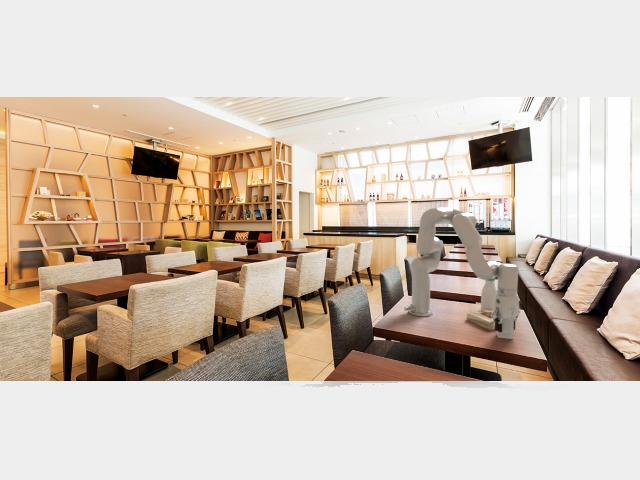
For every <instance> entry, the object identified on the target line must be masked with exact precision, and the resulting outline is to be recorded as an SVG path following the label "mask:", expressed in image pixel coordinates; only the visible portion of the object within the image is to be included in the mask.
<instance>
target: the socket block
mask: <svg viewBox="0 0 640 480" xmlns="http://www.w3.org/2000/svg"><path fill="white" fill-rule="evenodd" d="M493 312H494V310H493V309H486V310H481V309H480V310H475V311H474V310H473V311H469V312H468V311H467V312H466V320H467V321H468V322H471V323H473V324H475V325H477V326H479V327H482V328H484V329H486V330H489V331H491V330H495V322H494V320H493V318H492V317H491V314H492V313H493Z"/></svg>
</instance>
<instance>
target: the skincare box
mask: <svg viewBox="0 0 640 480" xmlns="http://www.w3.org/2000/svg"><path fill="white" fill-rule="evenodd" d="M498 316H500V315H499V313H498ZM498 319H500V318H499V317H498ZM501 324H502V332H498V331H496V336H497V338H500V339H509V340H513V339H514V331H515V330H514V313H512V317H511V318H507V319H503V320H502V322H501Z"/></svg>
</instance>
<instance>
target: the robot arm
mask: <svg viewBox="0 0 640 480" xmlns="http://www.w3.org/2000/svg"><path fill="white" fill-rule="evenodd" d="M477 223H478V221H477V218H476V216H475V215H474V214H473V213H472V212H471V213H470V212H468V211H464V210H463V211H462V210H459V209H456V208H452V207H433V208H429V209H427V210H425V212H423V213H422V215H421V217H420V220H419V229H418V233H417V234H418V236H417V241H416V251H417V253H418V254H419V255H421V256H418V257H416V258H414V259H413V260H412V261H411V264H410V271H411V304H410V303H409V306H404V308H403V310H404V311H408V312H409V314H411V315H412V316H416V317H417V316H418V317H431V316H432V315H433V310H431V306H430V305H431V279H430V278H431V277H430V275H429V273H431V272H434V271H436V270H437V269H438V267H439V265H440V262H441V261H440V260H441V255H442V246H443V244H442V242H441V239H439V238H438V237H436V233H437V230H436V228H437V227H436V225H444V224H447V225H451V226H452V227H453V229H454V231H455V233H456V234H457V236H458V238H459V239H460V242H461V243H462V245H463V246H464V251H465V256H466V260H467V262H468V265H469V267H470V268H471V271H472V272H473V274H474V275H475V276H476V277H477V278H479V280H484V281H485V280H488V279H491V278H494V277H495V278H497V287H496V289H497V295H496V299H495V305H494V312H493V313H492V314H491V317H492V318H493V320H494V322H495V329H494V330H495V331H496V332H497V331H498V332H502V324H501V322H502V320H503V319H507V318H511V317H512V313H514V330H513V331H515V330H516V322H517V320H518V319H517V318H518V317H519V315H520V313H521V310H520V300H519V295H518V286H519V285H518V283H519V266H518V265H516V264H513V263H504V262H503V263H502V262H498V261H494V260H490V261H487V259H486V257H485V256H484V253H483V252H482V244H483V237H482V236H481V234H480V233H479V231H478V230H477V228H476V225H477ZM498 313H499V315H500V316H498ZM498 317H499V318H500V319H498Z"/></svg>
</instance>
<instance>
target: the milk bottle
mask: <svg viewBox="0 0 640 480" xmlns="http://www.w3.org/2000/svg"><path fill="white" fill-rule="evenodd" d="M495 280H496V277H494V278H491V279H488V280H484V281H485V282H484V285H483V287H482V289H481V294H480V295H481V297H480V298H481V299H480V310H486V309H493V310H494V305H495V299H496V295H497V287H496V285H495Z"/></svg>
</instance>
